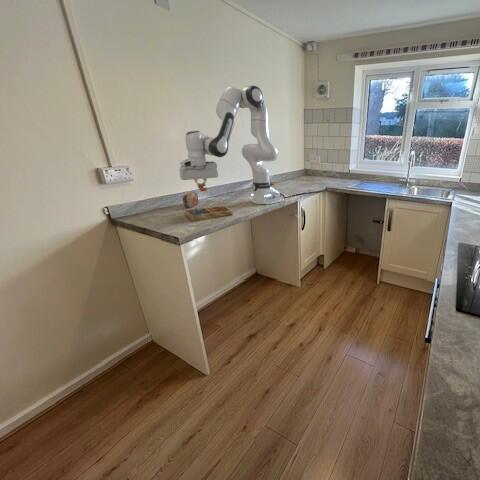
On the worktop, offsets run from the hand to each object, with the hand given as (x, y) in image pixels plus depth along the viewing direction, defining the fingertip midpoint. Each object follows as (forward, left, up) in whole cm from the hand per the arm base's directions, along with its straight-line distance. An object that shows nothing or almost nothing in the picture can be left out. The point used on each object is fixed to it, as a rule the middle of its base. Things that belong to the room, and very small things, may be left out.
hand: (201, 186), depth 151 cm
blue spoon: (+5, +8, -15) cm, 17 cm away
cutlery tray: (0, +7, -16) cm, 17 cm away
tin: (+3, -20, -16) cm, 25 cm away
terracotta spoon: (0, 0, -2) cm, 2 cm away
